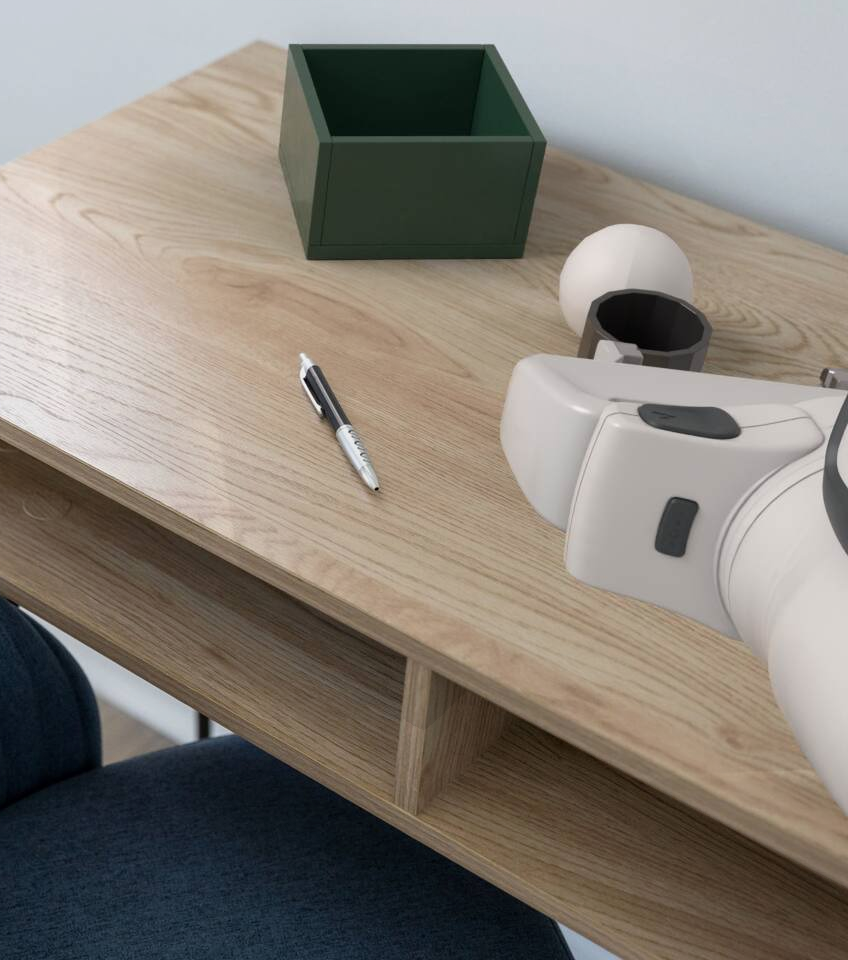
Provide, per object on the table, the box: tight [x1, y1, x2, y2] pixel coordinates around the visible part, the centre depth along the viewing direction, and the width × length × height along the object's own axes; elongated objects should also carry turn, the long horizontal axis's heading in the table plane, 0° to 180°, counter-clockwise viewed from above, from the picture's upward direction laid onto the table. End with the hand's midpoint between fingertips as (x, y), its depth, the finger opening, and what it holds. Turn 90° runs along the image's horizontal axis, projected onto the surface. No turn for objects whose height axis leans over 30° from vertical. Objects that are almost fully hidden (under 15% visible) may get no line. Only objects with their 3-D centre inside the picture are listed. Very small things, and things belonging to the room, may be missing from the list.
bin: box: [277, 43, 548, 260], centre depth 103 cm, size 14×14×8 cm
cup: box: [576, 288, 714, 373], centre depth 81 cm, size 6×6×10 cm
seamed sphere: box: [558, 223, 721, 339], centre depth 91 cm, size 10×7×7 cm
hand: (723, 371), depth 68 cm, fingers open, 8 cm apart
